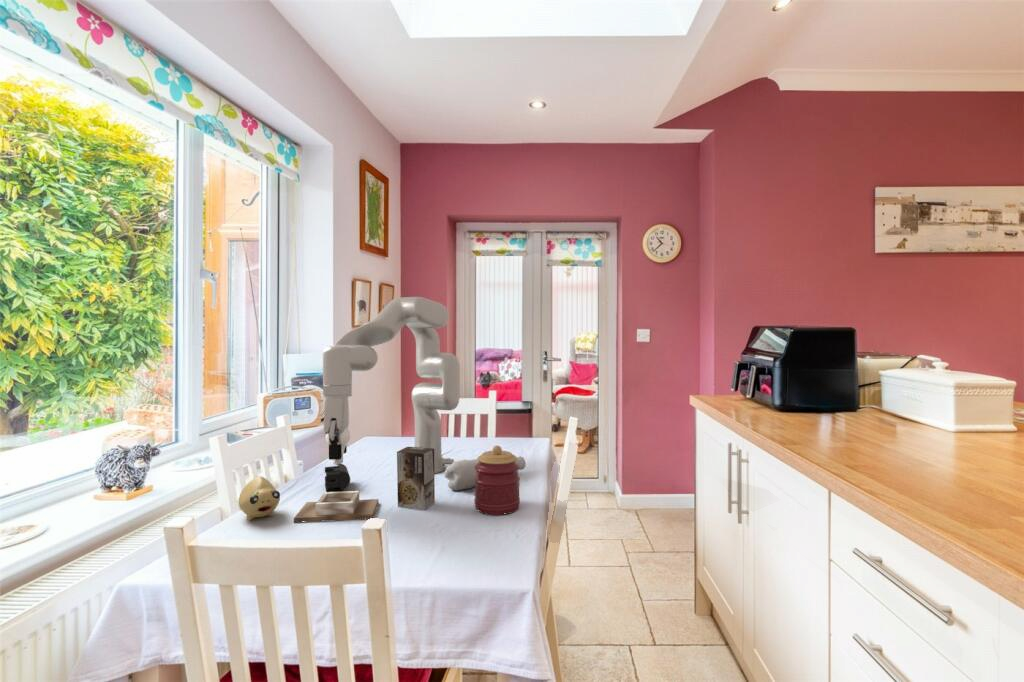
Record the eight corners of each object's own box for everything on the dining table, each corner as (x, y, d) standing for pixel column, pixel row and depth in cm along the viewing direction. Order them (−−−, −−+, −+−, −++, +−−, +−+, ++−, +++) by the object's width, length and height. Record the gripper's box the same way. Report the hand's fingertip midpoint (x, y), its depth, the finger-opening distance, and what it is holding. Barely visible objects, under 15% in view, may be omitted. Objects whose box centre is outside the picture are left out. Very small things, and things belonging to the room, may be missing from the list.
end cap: (350, 491, 153) (350, 470, 153) (326, 494, 150) (326, 472, 150) (347, 482, 162) (347, 462, 162) (324, 485, 159) (324, 464, 159)
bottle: (462, 485, 148) (533, 470, 168) (453, 457, 151) (524, 445, 171) (448, 496, 153) (518, 480, 173) (439, 468, 157) (509, 456, 177)
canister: (485, 519, 130) (485, 453, 129) (467, 504, 141) (467, 443, 141) (528, 510, 136) (528, 448, 135) (507, 496, 147) (507, 438, 147)
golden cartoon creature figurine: (245, 529, 123) (244, 487, 123) (235, 515, 132) (234, 476, 132) (286, 519, 130) (286, 479, 129) (274, 507, 139) (274, 470, 139)
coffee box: (435, 503, 142) (435, 448, 142) (424, 510, 136) (424, 453, 136) (408, 499, 145) (408, 445, 145) (396, 506, 139) (396, 450, 139)
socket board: (378, 503, 142) (378, 488, 142) (372, 518, 130) (372, 503, 130) (306, 506, 139) (306, 491, 139) (293, 522, 127) (293, 506, 127)
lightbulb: (322, 468, 131) (322, 427, 131) (329, 462, 137) (329, 423, 137) (346, 467, 131) (346, 426, 131) (352, 461, 138) (352, 422, 138)
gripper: (330, 387, 142) (331, 449, 142) (314, 395, 125) (315, 465, 125) (357, 387, 143) (357, 448, 143) (345, 394, 126) (345, 464, 126)
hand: (337, 455), depth 134 cm, fingers closed on lightbulb, 5 cm apart
